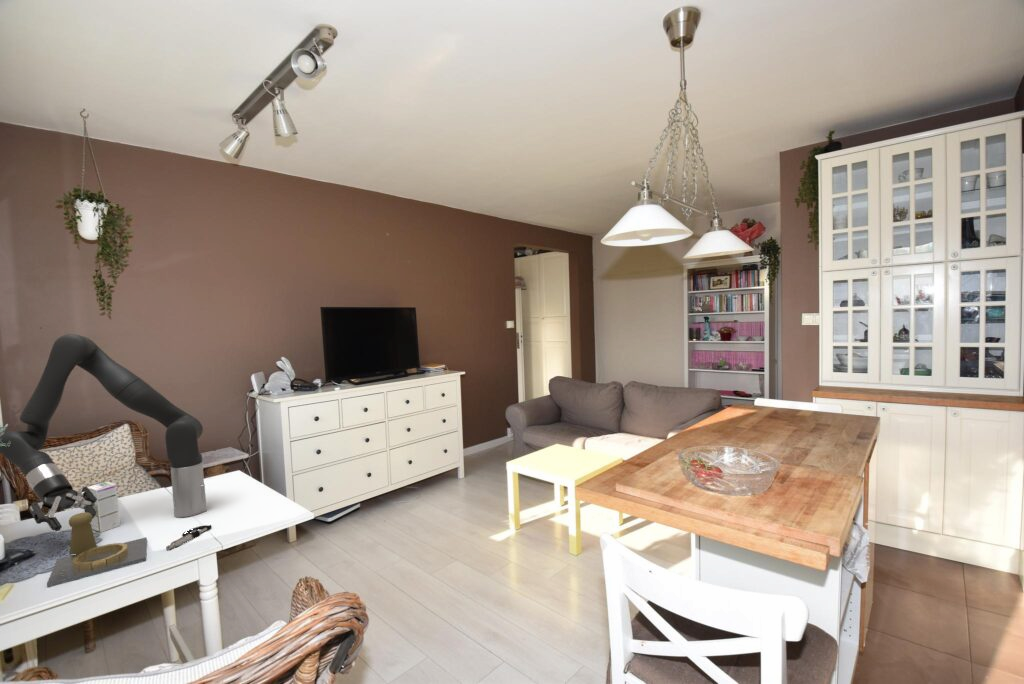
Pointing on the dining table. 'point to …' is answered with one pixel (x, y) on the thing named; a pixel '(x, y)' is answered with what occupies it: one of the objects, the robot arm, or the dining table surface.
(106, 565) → the collar plate
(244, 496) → the dining table surface
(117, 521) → the syrup box
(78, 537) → the cork
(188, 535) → the micrometer
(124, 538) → the dining table surface
